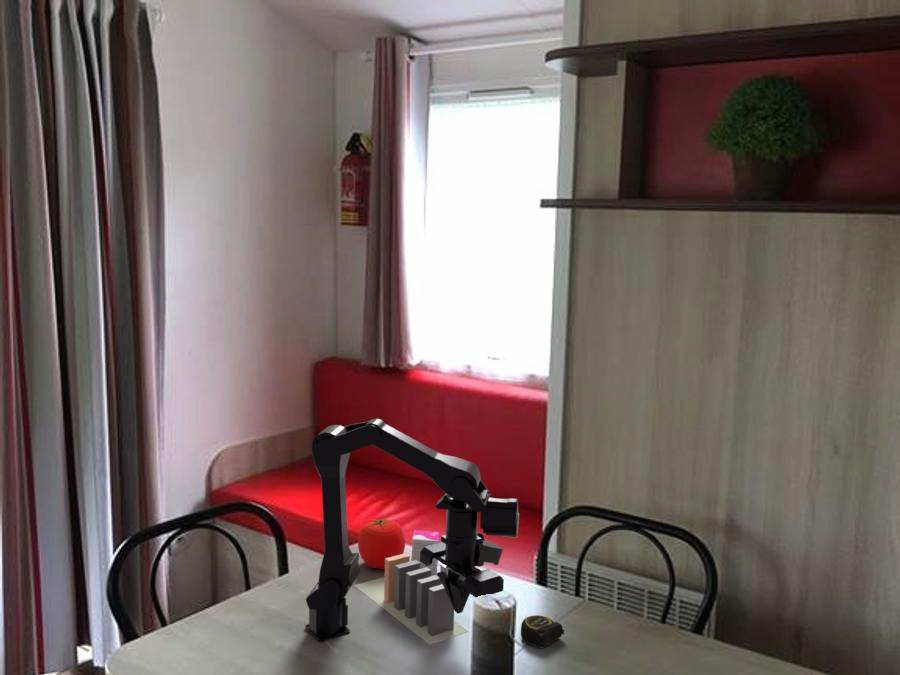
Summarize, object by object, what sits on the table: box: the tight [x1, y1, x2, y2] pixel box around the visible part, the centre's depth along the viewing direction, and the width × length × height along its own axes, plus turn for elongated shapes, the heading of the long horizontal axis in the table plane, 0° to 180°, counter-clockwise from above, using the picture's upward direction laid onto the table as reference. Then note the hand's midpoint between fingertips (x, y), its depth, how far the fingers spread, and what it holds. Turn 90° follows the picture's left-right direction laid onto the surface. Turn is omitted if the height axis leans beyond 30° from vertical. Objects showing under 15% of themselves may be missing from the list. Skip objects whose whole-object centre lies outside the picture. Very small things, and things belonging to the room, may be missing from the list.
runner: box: [353, 576, 469, 646], centre depth 163 cm, size 9×29×1 cm, turn 36°
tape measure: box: [520, 614, 565, 648], centre depth 152 cm, size 7×7×4 cm
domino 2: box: [394, 560, 420, 611], centre depth 163 cm, size 5×2×9 cm, turn 126°
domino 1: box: [384, 552, 411, 603], centre depth 166 cm, size 5×2×9 cm, turn 126°
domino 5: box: [427, 584, 455, 636], centre depth 154 cm, size 5×2×9 cm, turn 126°
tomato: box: [357, 517, 406, 570], centre depth 183 cm, size 10×11×11 cm
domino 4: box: [416, 575, 442, 627], centre depth 157 cm, size 5×2×9 cm, turn 126°
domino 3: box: [405, 567, 431, 619], centre depth 160 cm, size 5×2×9 cm, turn 126°
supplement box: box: [410, 529, 441, 576], centre depth 173 cm, size 6×6×12 cm
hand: (458, 612), depth 149 cm, fingers closed
